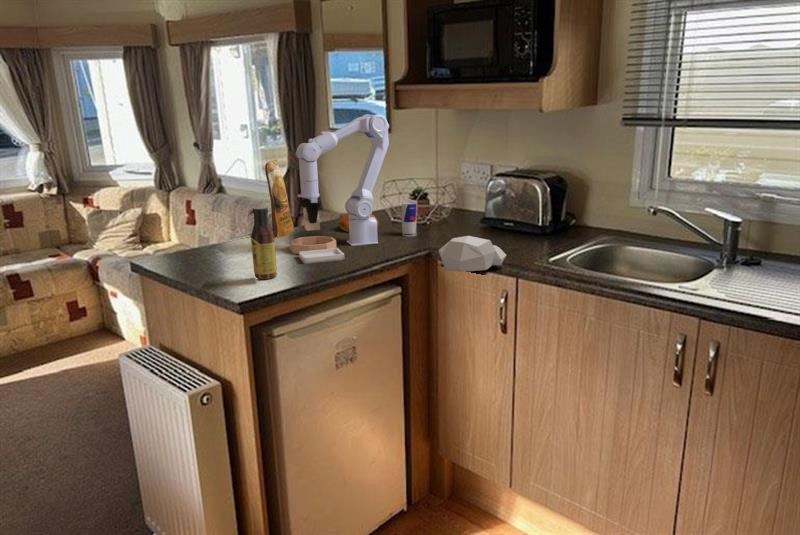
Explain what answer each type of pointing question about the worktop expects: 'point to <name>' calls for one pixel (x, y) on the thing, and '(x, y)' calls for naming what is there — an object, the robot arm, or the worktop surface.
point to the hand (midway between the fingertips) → (311, 221)
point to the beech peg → (308, 225)
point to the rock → (470, 254)
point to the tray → (321, 255)
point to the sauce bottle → (263, 245)
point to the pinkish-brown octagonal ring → (312, 243)
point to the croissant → (345, 222)
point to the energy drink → (409, 219)
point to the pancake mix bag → (278, 200)
